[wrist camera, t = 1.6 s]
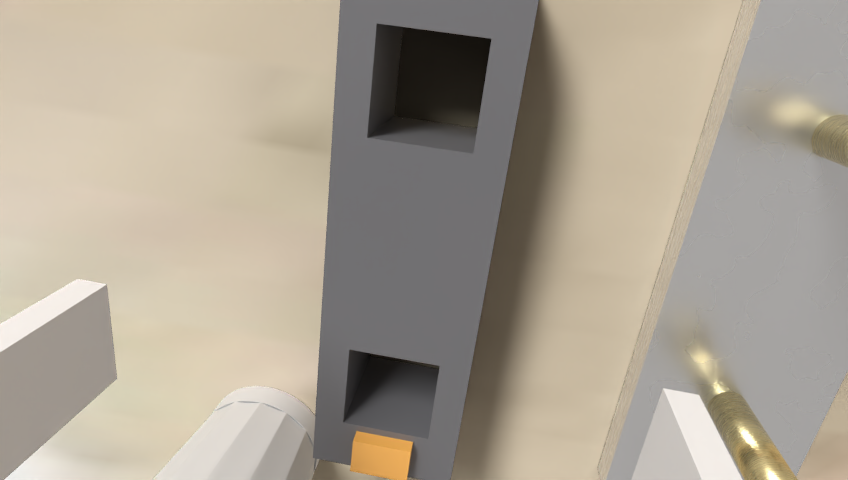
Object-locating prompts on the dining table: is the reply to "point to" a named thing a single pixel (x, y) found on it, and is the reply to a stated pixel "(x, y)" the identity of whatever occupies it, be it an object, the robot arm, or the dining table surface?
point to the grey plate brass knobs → (756, 252)
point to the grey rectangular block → (409, 238)
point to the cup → (249, 440)
